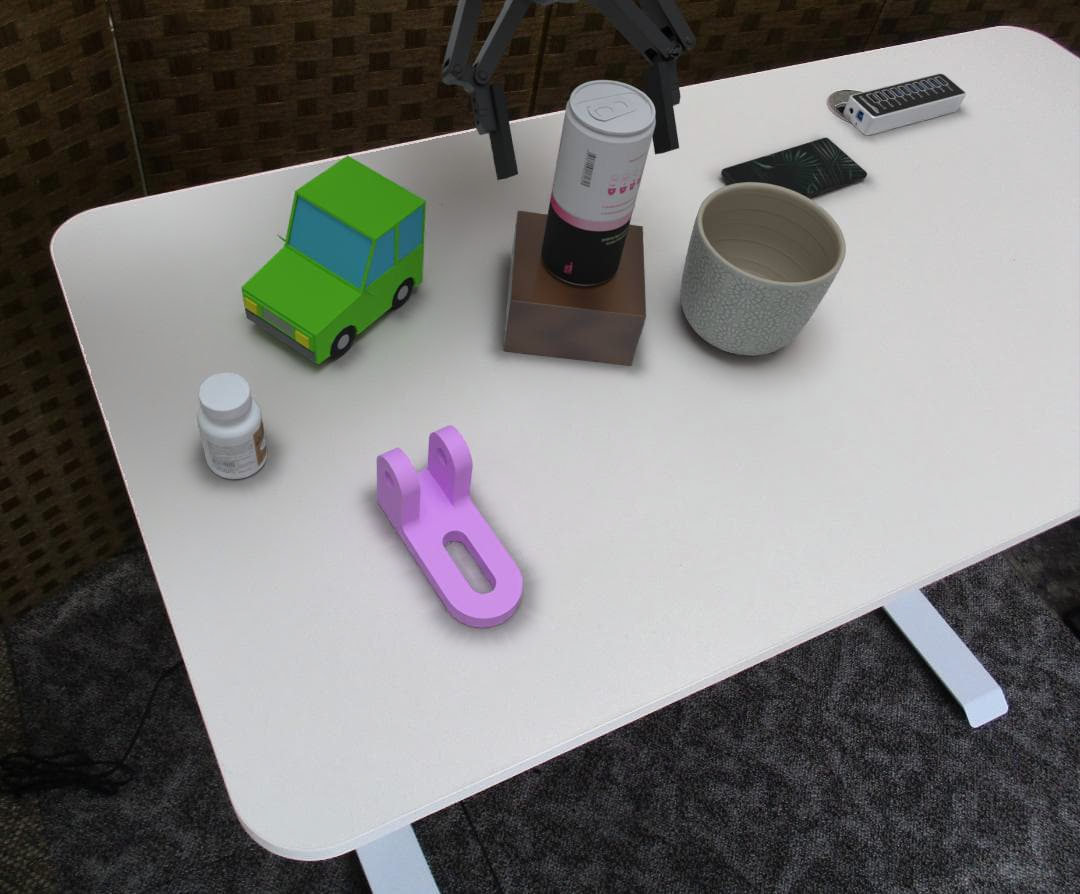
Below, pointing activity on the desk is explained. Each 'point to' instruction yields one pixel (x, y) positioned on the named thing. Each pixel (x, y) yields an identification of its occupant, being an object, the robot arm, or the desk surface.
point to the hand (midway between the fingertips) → (589, 164)
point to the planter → (758, 266)
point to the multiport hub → (903, 104)
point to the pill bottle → (231, 426)
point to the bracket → (448, 528)
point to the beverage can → (596, 180)
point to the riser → (573, 302)
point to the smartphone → (800, 169)
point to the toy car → (339, 261)
